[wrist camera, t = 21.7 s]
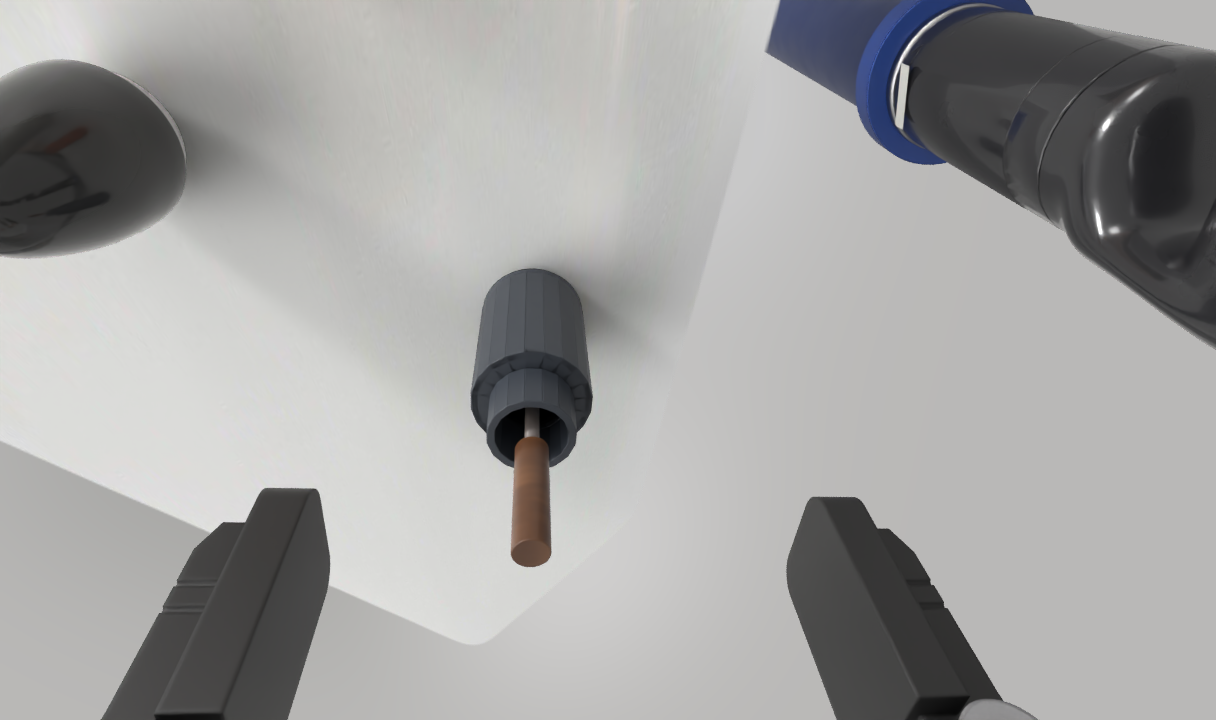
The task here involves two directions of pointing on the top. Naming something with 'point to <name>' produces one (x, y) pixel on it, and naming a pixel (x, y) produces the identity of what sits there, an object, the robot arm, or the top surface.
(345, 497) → the top surface
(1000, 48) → the robot arm
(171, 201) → the dark egg shaped ornament
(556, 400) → the steel bottle
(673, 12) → the top surface
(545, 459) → the bottle brush
